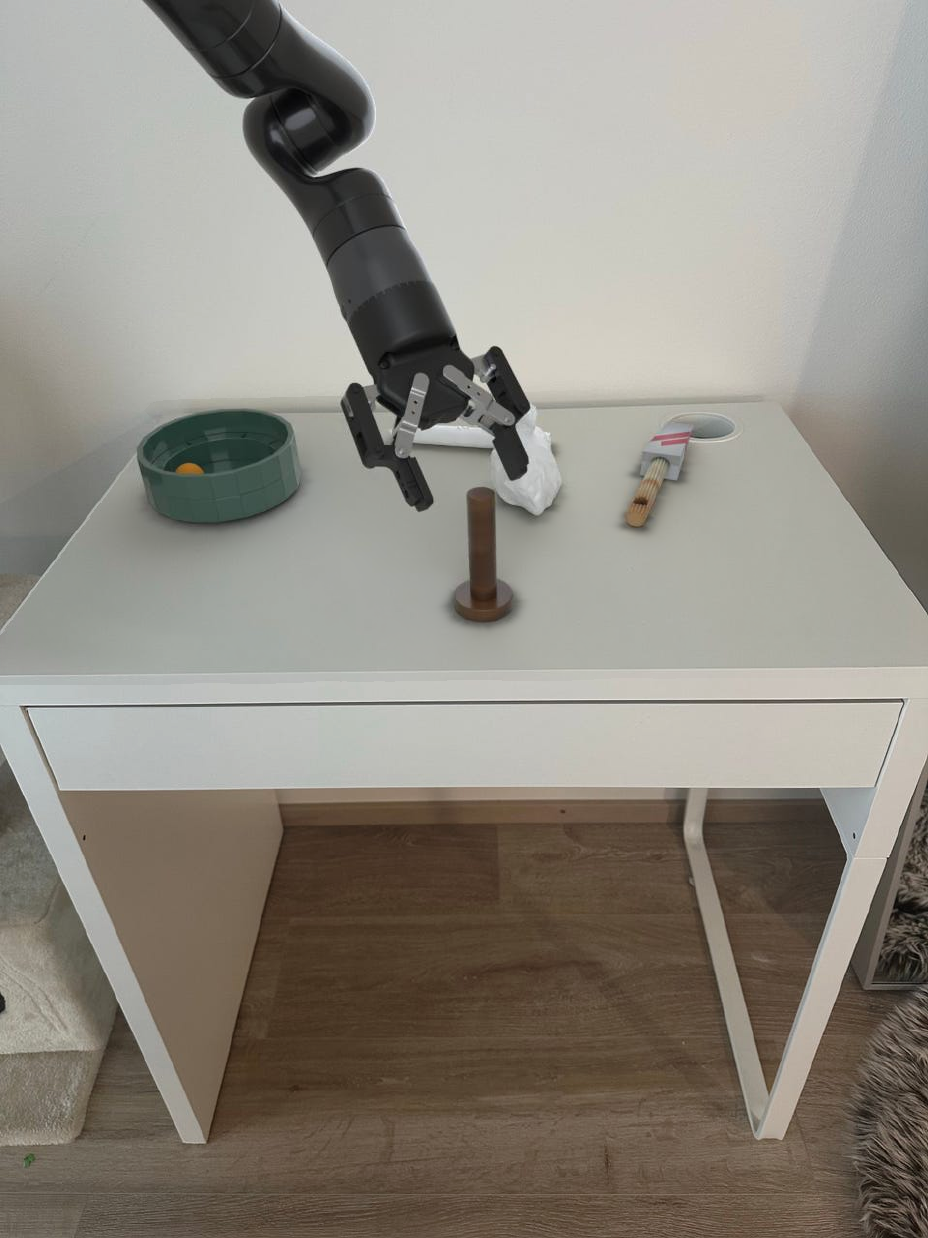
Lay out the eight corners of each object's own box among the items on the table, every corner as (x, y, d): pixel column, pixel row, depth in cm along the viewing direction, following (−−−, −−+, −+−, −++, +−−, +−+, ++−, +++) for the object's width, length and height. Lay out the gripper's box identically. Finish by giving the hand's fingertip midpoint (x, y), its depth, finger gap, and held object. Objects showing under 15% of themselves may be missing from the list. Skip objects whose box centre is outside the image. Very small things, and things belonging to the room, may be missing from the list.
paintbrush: (700, 412, 99) (655, 509, 85) (697, 436, 101) (653, 535, 86) (664, 407, 100) (613, 502, 86) (662, 431, 102) (612, 527, 88)
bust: (527, 486, 98) (459, 405, 94) (587, 447, 95) (518, 361, 90) (517, 546, 89) (440, 459, 84) (582, 506, 85) (506, 413, 81)
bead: (202, 494, 92) (213, 486, 95) (193, 465, 91) (204, 457, 94) (174, 499, 93) (186, 490, 95) (165, 469, 92) (177, 462, 94)
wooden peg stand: (507, 625, 75) (505, 511, 69) (449, 619, 76) (442, 506, 70) (517, 591, 79) (517, 480, 73) (462, 586, 80) (457, 476, 74)
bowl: (254, 537, 88) (244, 485, 84) (118, 515, 92) (104, 464, 89) (326, 465, 99) (319, 417, 96) (202, 448, 103) (192, 401, 100)
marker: (385, 444, 103) (383, 424, 101) (390, 436, 104) (389, 416, 103) (548, 455, 99) (548, 435, 98) (551, 447, 101) (551, 426, 99)
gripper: (318, 296, 67) (408, 502, 66) (484, 260, 73) (570, 448, 72) (298, 348, 74) (379, 534, 72) (451, 311, 80) (529, 483, 78)
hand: (474, 491), depth 72 cm, fingers open, 8 cm apart
